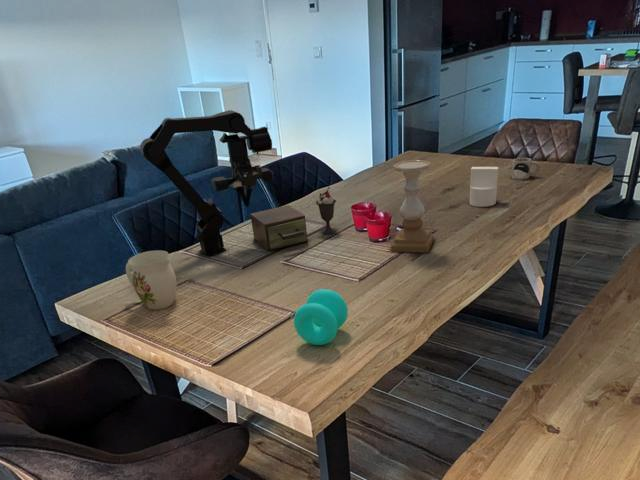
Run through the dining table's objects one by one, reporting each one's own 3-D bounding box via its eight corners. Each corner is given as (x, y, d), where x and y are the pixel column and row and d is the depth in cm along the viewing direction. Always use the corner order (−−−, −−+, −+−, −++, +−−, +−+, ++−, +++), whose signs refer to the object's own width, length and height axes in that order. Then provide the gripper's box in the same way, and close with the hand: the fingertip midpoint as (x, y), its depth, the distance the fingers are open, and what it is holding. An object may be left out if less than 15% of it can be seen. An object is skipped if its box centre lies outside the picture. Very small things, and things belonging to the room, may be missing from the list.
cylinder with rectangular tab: (467, 206, 197) (468, 171, 190) (471, 198, 204) (473, 164, 197) (493, 207, 193) (496, 171, 187) (497, 199, 200) (500, 164, 194)
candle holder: (433, 239, 173) (434, 159, 160) (427, 252, 164) (428, 169, 152) (398, 238, 176) (397, 159, 164) (390, 251, 168) (388, 169, 155)
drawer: (313, 244, 176) (311, 223, 173) (276, 253, 172) (273, 232, 169) (291, 229, 190) (289, 209, 187) (257, 237, 187) (254, 217, 183)
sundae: (336, 234, 185) (333, 188, 177) (316, 235, 186) (312, 189, 178) (340, 227, 190) (336, 182, 182) (320, 228, 191) (316, 183, 184)
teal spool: (294, 345, 126) (289, 305, 121) (311, 324, 134) (306, 285, 128) (336, 349, 122) (332, 309, 117) (350, 327, 130) (348, 288, 125)
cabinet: (307, 241, 182) (305, 215, 177) (268, 251, 178) (264, 224, 173) (291, 229, 193) (288, 205, 188) (254, 238, 189) (250, 213, 184)
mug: (511, 179, 219) (512, 162, 216) (511, 175, 224) (513, 158, 221) (538, 179, 216) (540, 161, 213) (538, 174, 222) (540, 157, 218)
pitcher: (149, 290, 160) (136, 244, 153) (196, 299, 151) (185, 251, 144) (119, 306, 152) (104, 258, 145) (168, 317, 144) (154, 267, 136)
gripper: (216, 166, 162) (226, 219, 170) (276, 154, 168) (283, 206, 176) (206, 159, 171) (216, 210, 179) (263, 148, 177) (270, 198, 185)
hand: (247, 206), depth 179 cm, fingers closed
